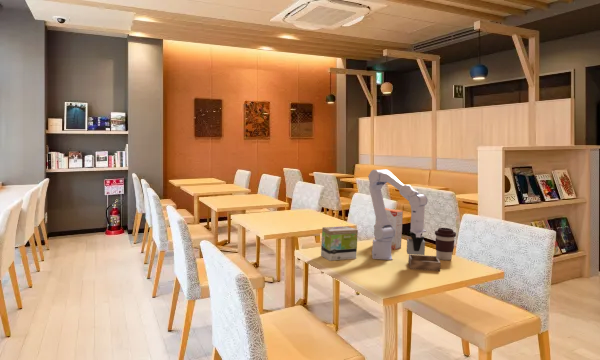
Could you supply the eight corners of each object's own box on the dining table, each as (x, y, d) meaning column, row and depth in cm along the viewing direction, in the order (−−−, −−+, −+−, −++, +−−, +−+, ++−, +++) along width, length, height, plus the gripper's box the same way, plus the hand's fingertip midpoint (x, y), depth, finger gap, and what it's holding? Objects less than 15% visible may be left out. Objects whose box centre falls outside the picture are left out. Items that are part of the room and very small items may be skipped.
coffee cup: (455, 262, 202) (457, 231, 201) (434, 260, 204) (436, 230, 203) (452, 256, 212) (454, 227, 210) (432, 255, 214) (434, 226, 212)
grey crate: (407, 254, 190) (408, 241, 189) (406, 251, 194) (407, 238, 194) (424, 255, 188) (425, 242, 188) (423, 252, 193) (423, 239, 193)
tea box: (329, 261, 198) (330, 231, 196) (320, 256, 207) (321, 227, 206) (357, 258, 204) (358, 229, 202) (346, 253, 213) (347, 225, 212)
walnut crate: (410, 269, 189) (411, 260, 189) (408, 262, 199) (408, 254, 199) (439, 271, 187) (440, 262, 187) (436, 264, 197) (436, 256, 197)
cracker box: (373, 244, 232) (375, 207, 230) (380, 243, 236) (381, 206, 234) (395, 250, 222) (396, 211, 220) (401, 248, 226) (403, 210, 224)
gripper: (428, 223, 182) (426, 254, 183) (424, 218, 196) (423, 246, 198) (412, 223, 183) (410, 253, 185) (409, 217, 198) (407, 245, 199)
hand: (416, 249), depth 191 cm, fingers closed on grey crate, 5 cm apart
